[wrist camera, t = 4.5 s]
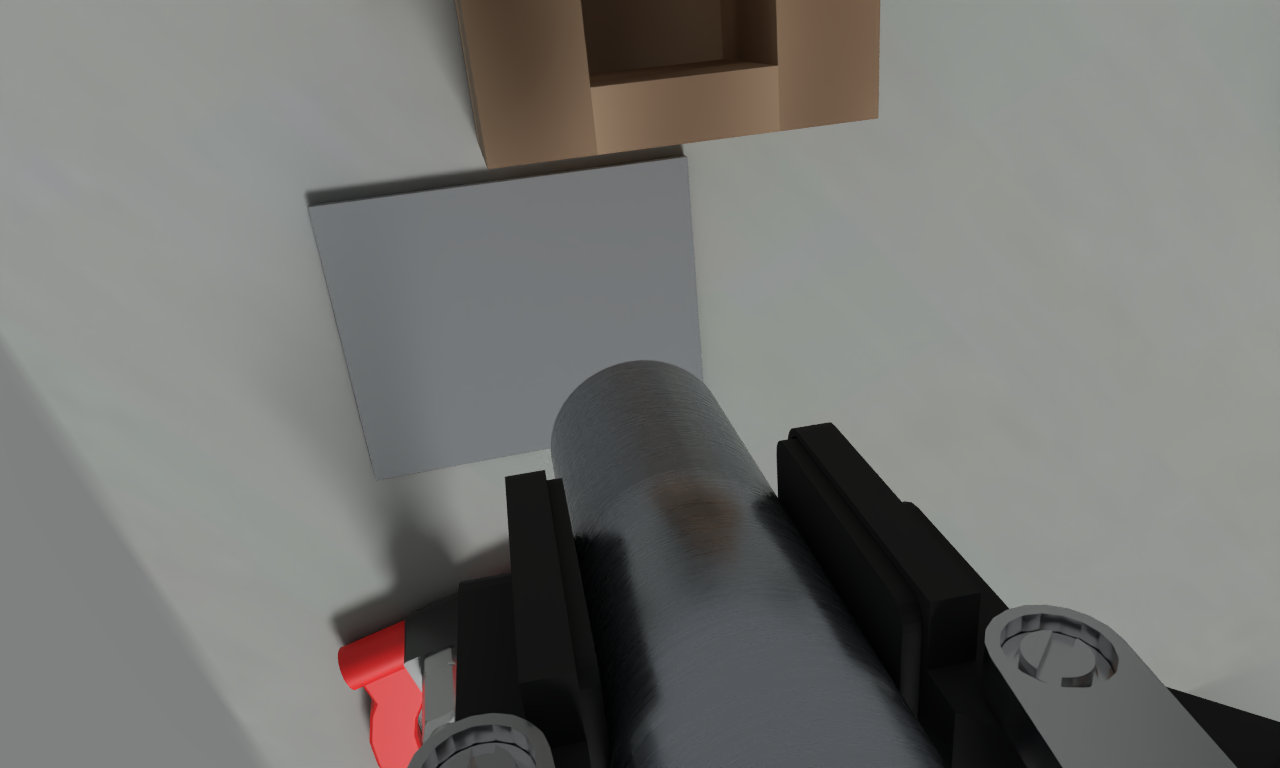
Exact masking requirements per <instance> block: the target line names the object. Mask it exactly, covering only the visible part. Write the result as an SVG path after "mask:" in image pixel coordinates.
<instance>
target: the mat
mask: <svg viewBox="0 0 1280 768" xmlns="http://www.w3.org/2000/svg"><path fill="white" fill-rule="evenodd" d="M308 210H309V214H310V218H311V222H312V226H313V230H314V234H315V238H316V242H317V246H318V250H319V254H320V258H321V262H322V266H323V270H324V274H325V278H326V282H327V286H328V290H329V294H330V298H331V302H332V306H333V310H334V314H335V318H336V322H337V326H338V330H339V334H340V338H341V342H342V346H343V350H344V354H345V358H346V362H347V366H348V370H349V374H350V378H351V382H352V386H353V390H354V394H355V398H356V402H357V406H358V410H359V414H360V418H361V422H362V426H363V430H364V434H365V438H366V442H367V446H368V450H369V454H370V458H371V462H372V466H373V470H374V474H375V479H376V480H381V479H386V478H392V477H397V476H403V475H408V474H414V473H419V472H424V471H430V470H435V469H441V468H446V467H451V466H457V465H462V464H468V463H473V462H479V461H484V460H489V459H495V458H500V457H506V456H511V455H516V454H522V453H527V452H533V451H538V450H544V449H549V448H551V435H552V430H553V426H554V423H555V420H556V417H557V415H558V413H559V411H560V409H561V407H562V405H563V404H564V402H565V401H566V399H567V398H568V397H569V395H570V394H571V393H572V392H573V391H574V390H575V389H576V388H577V387H578V386H579V385H580V384H581V383H583V382H584V381H585V380H586V379H588V378H589V377H591V376H592V375H594V374H595V373H597V372H599V371H601V370H603V369H605V368H607V367H610V366H613V365H616V364H619V363H624V362H628V361H637V360H654V361H660V362H666V363H669V364H672V365H676V366H678V367H680V368H682V369H685V370H687V371H688V372H690V373H691V374H693V375H694V376H696V377H697V378H698V379H699V380H701V381H702V382H703V373H702V359H701V345H700V331H699V317H698V303H697V288H696V274H695V260H694V246H693V232H692V218H691V204H690V190H689V176H688V161H687V157H686V156H685V155H683V156H676V157H668V158H661V159H653V160H646V161H638V162H631V163H623V164H616V165H608V166H601V167H593V168H586V169H578V170H571V171H563V172H555V173H548V174H540V175H533V176H525V177H518V178H510V179H503V180H495V181H488V182H480V183H473V184H465V185H458V186H450V187H443V188H435V189H428V190H420V191H413V192H405V193H397V194H390V195H382V196H375V197H367V198H360V199H352V200H345V201H337V202H330V203H322V204H315V205H309V207H308Z"/></svg>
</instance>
